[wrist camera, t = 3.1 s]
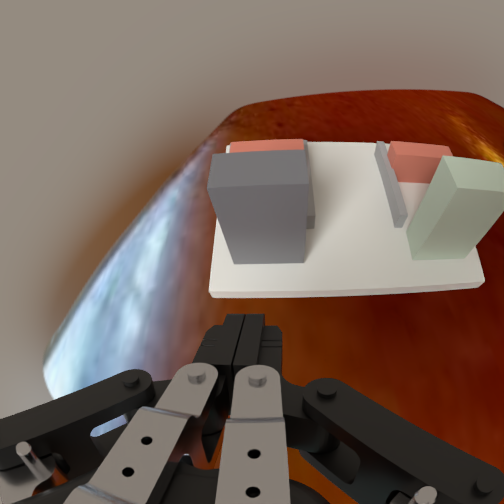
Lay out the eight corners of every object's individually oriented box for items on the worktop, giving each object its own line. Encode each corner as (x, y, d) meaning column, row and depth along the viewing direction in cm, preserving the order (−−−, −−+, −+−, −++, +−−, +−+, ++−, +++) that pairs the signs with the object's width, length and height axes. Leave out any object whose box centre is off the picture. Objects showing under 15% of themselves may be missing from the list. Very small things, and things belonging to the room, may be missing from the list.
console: (432, 156, 33) (445, 123, 28) (478, 287, 24) (506, 261, 19) (229, 154, 36) (220, 119, 31) (212, 297, 27) (195, 270, 22)
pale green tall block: (456, 231, 25) (500, 163, 17) (464, 258, 24) (516, 193, 15) (406, 231, 26) (442, 155, 18) (412, 260, 25) (457, 187, 16)
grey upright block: (302, 233, 27) (305, 149, 19) (303, 263, 26) (308, 183, 17) (236, 234, 28) (212, 154, 19) (233, 264, 27) (206, 188, 18)
